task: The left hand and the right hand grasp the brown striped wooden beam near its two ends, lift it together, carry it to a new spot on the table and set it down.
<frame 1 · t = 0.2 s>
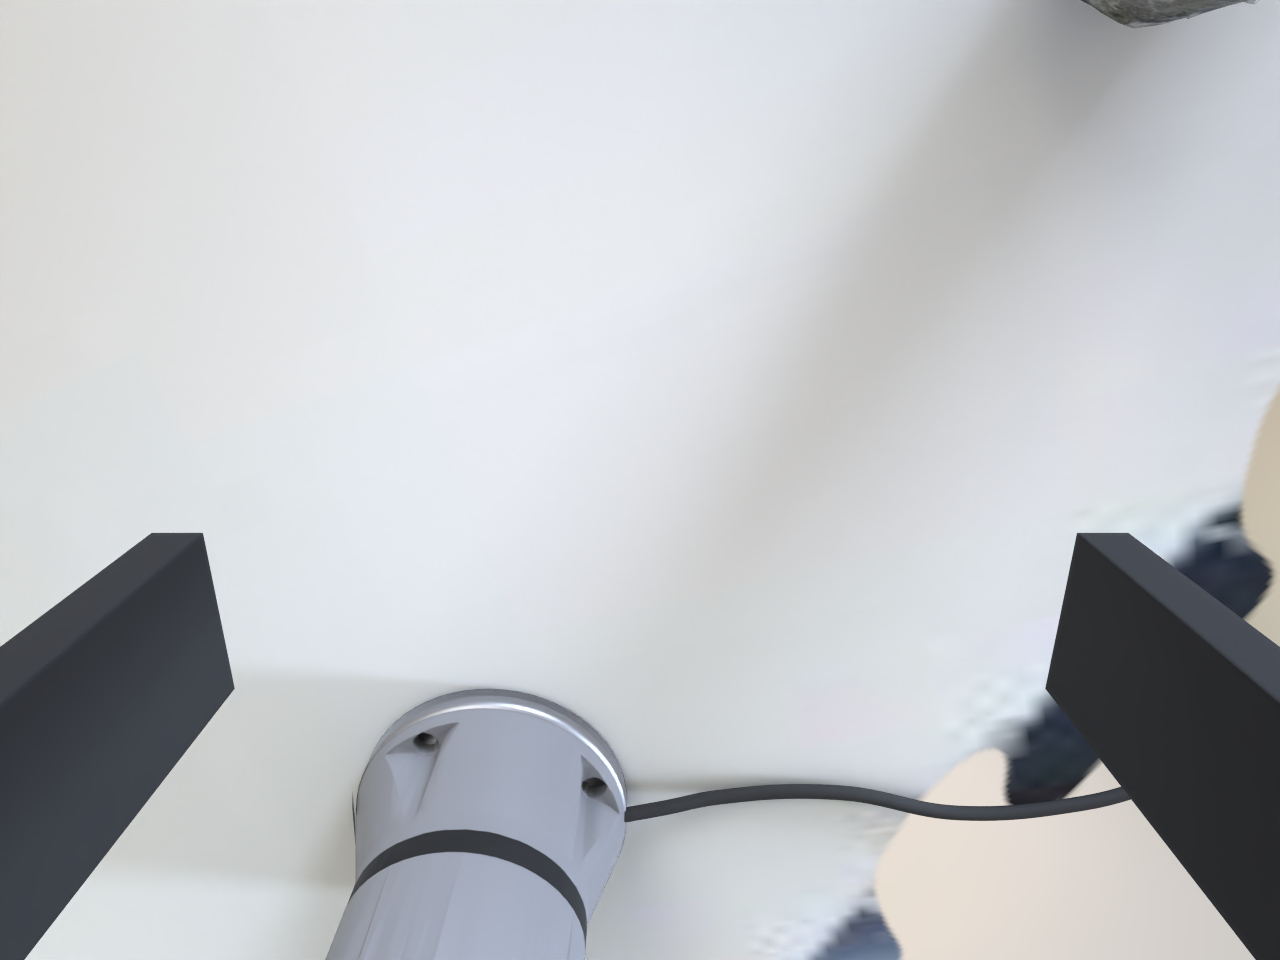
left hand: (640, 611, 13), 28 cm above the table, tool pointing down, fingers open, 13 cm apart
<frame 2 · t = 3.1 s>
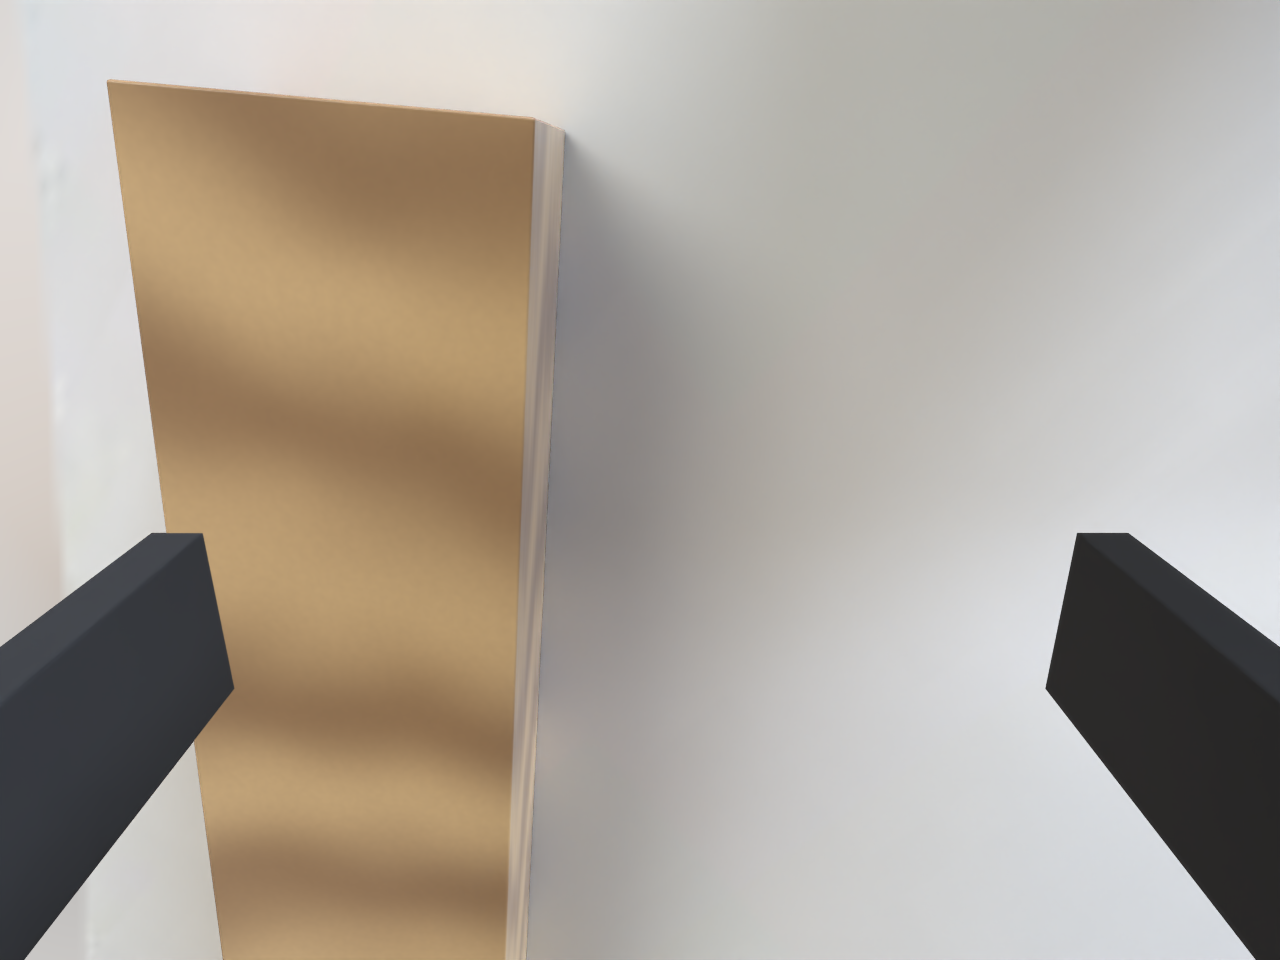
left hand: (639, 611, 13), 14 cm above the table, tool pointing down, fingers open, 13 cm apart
brown striped wooden beam: (422, 910, 33), on the table, touching right hand
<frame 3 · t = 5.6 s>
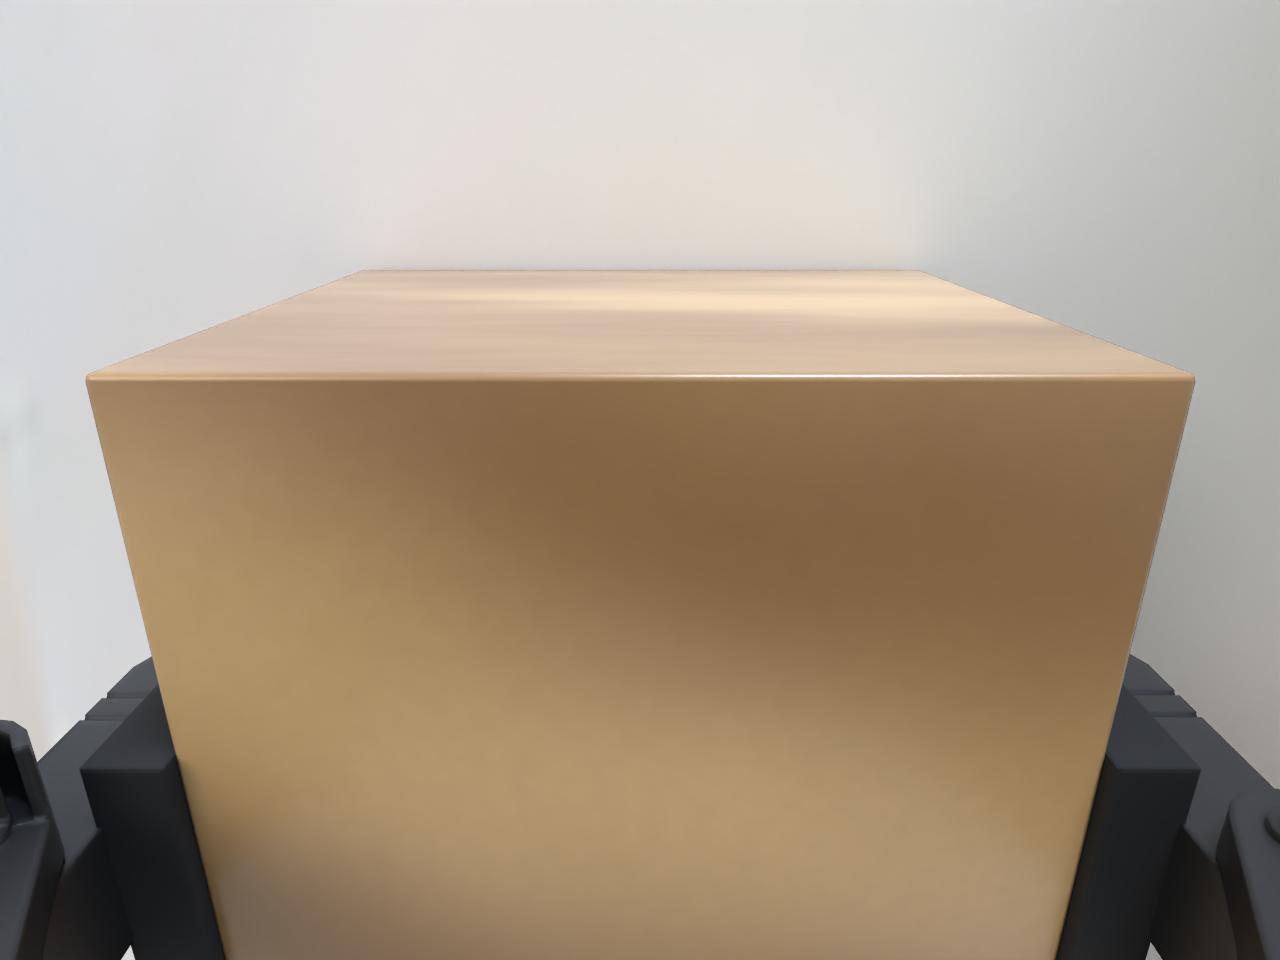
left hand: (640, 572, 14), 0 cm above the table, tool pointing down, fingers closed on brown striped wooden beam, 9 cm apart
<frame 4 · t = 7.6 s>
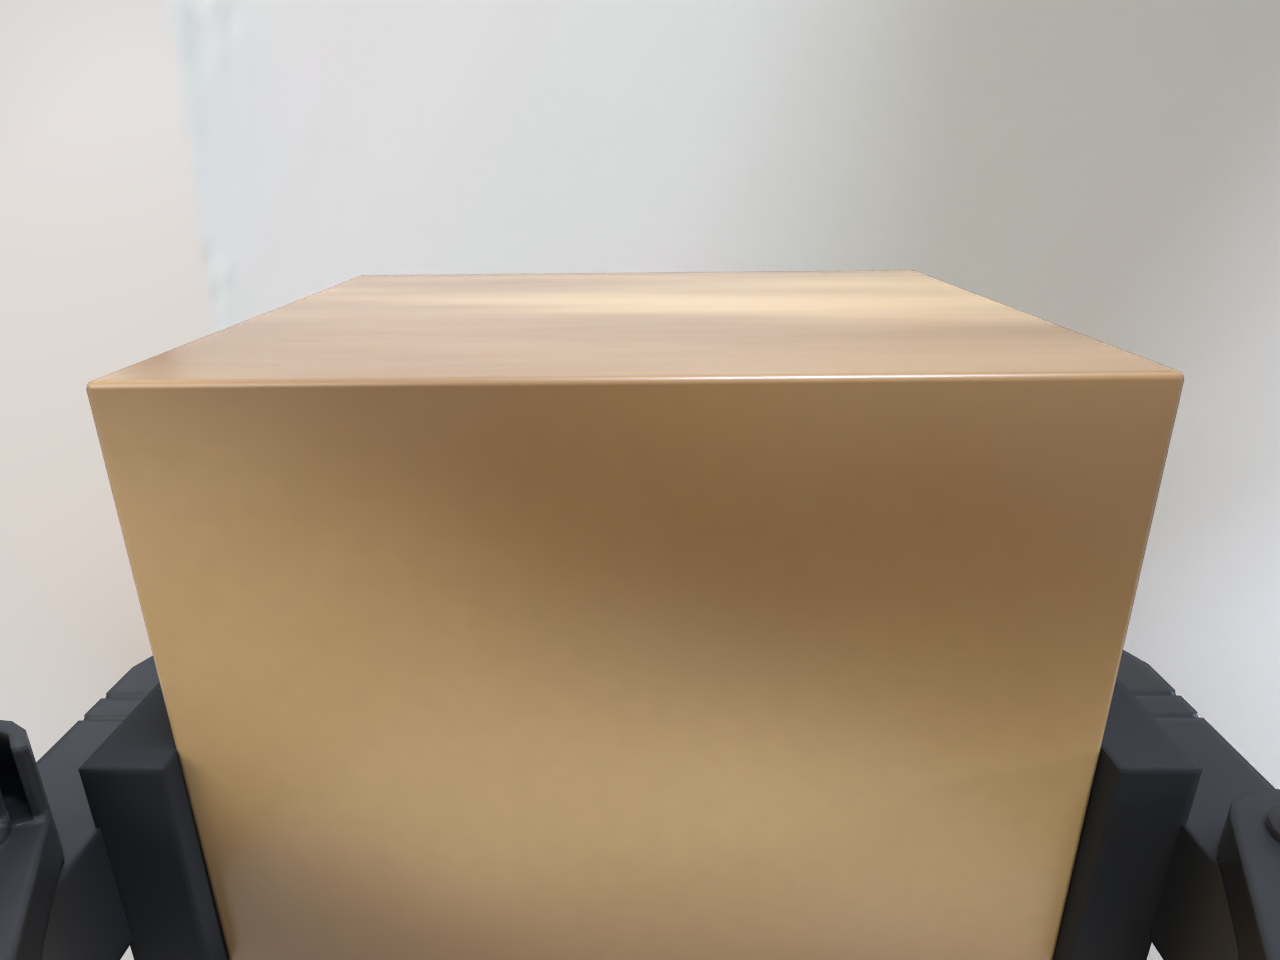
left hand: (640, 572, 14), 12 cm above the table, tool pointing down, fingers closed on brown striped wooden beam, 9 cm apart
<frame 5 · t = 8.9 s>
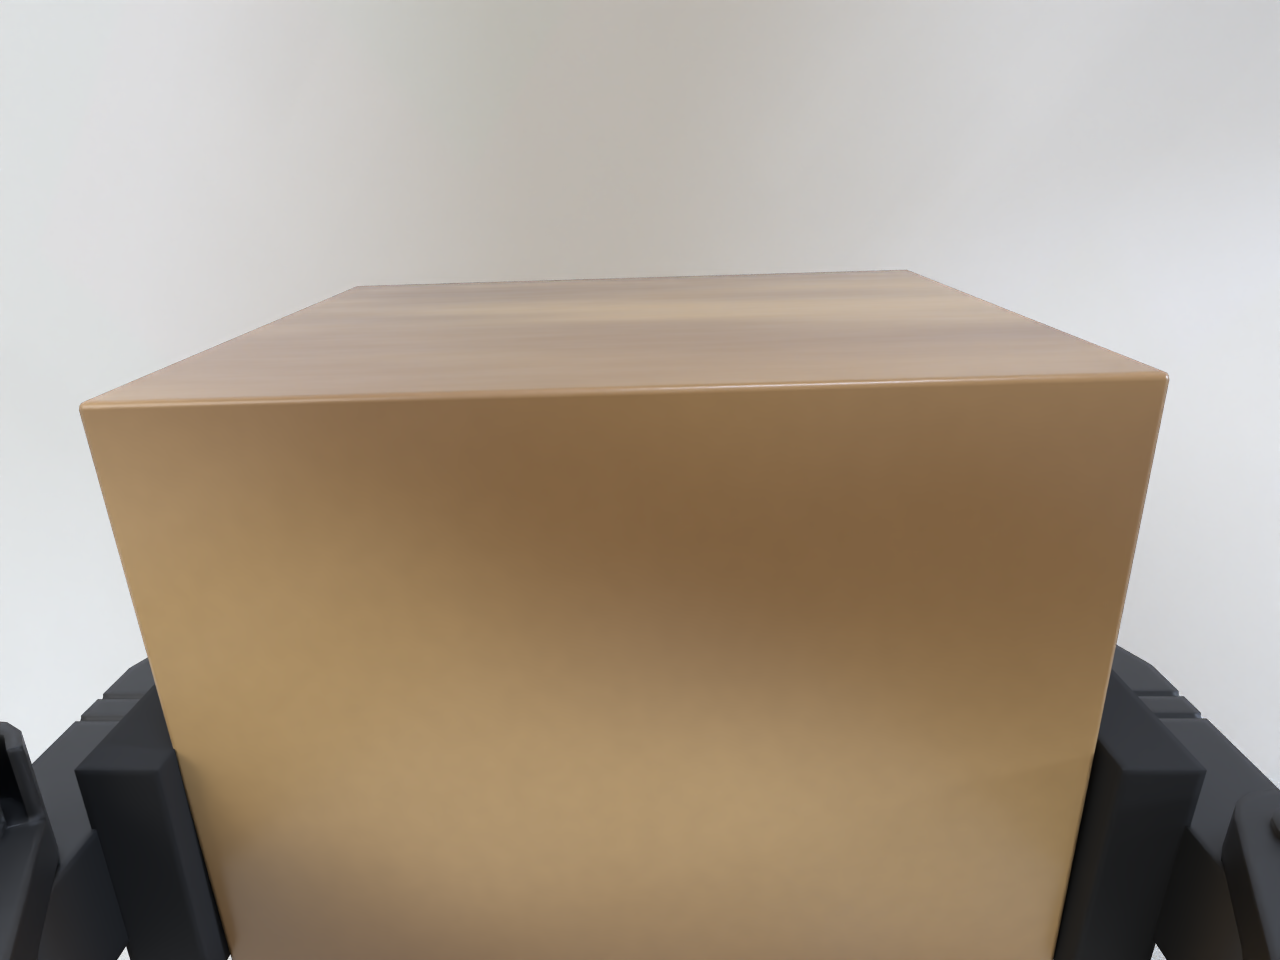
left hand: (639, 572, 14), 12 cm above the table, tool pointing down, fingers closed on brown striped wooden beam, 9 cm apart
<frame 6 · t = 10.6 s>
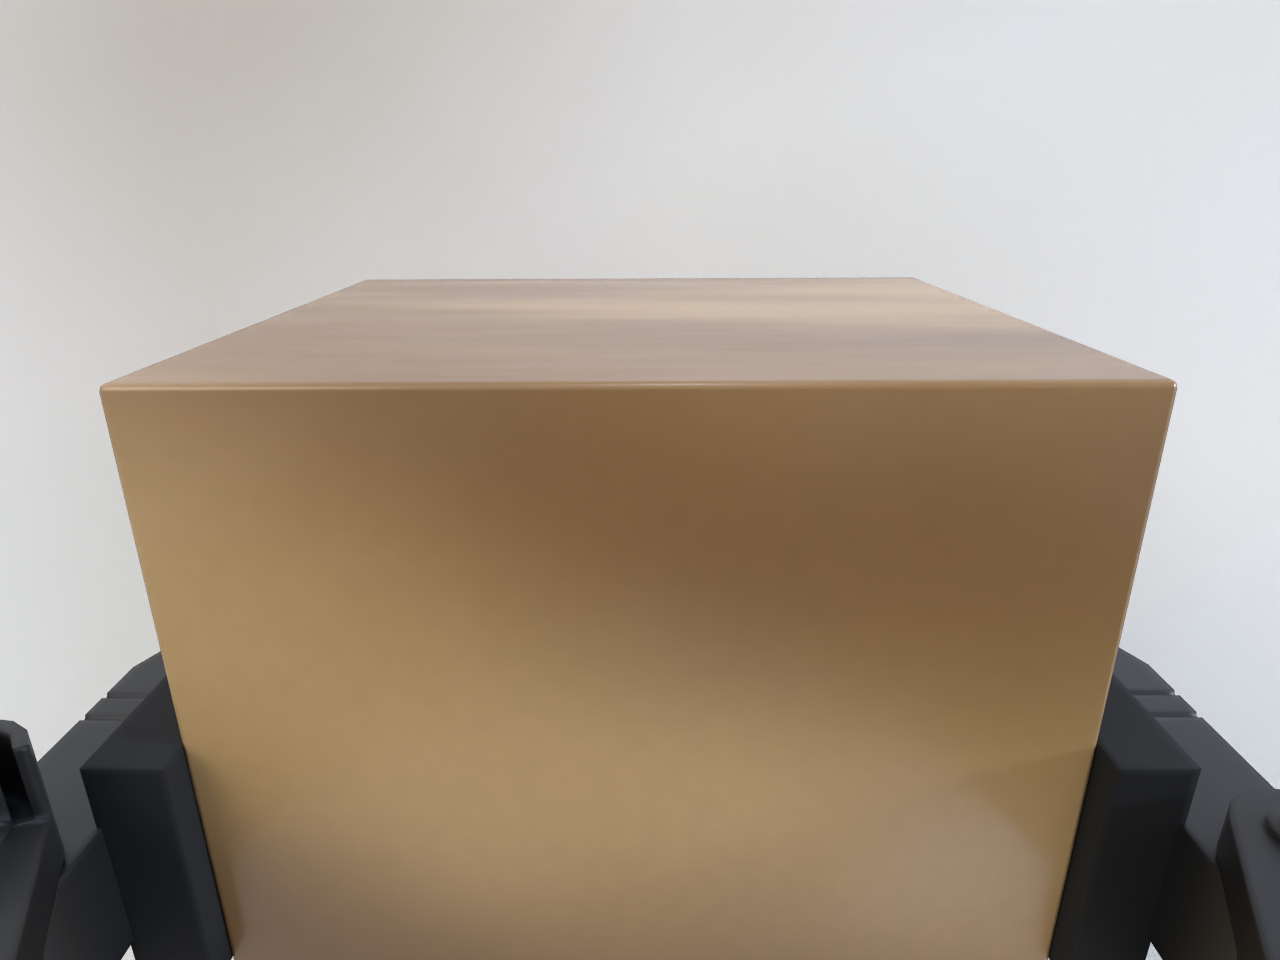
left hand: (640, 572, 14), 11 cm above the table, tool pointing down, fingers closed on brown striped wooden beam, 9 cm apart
when the left hand's fingers open (2 cm above the table, at t = 12.3 s): brown striped wooden beam drops 1 cm, on the table.
when the right hand's fingers open (2 cm above the table, at t = 12.3 s): brown striped wooden beam drops 1 cm, on the table.
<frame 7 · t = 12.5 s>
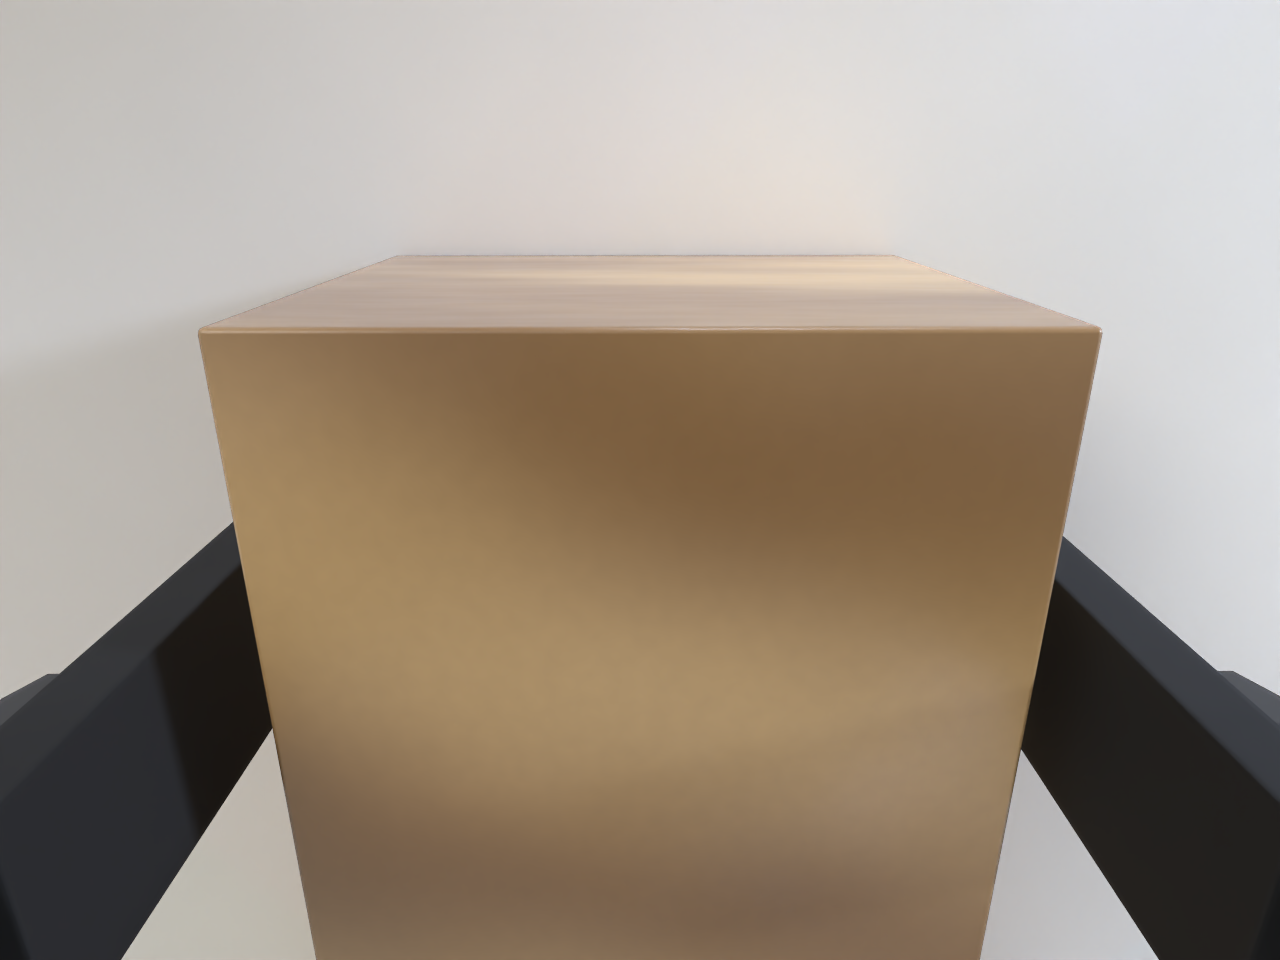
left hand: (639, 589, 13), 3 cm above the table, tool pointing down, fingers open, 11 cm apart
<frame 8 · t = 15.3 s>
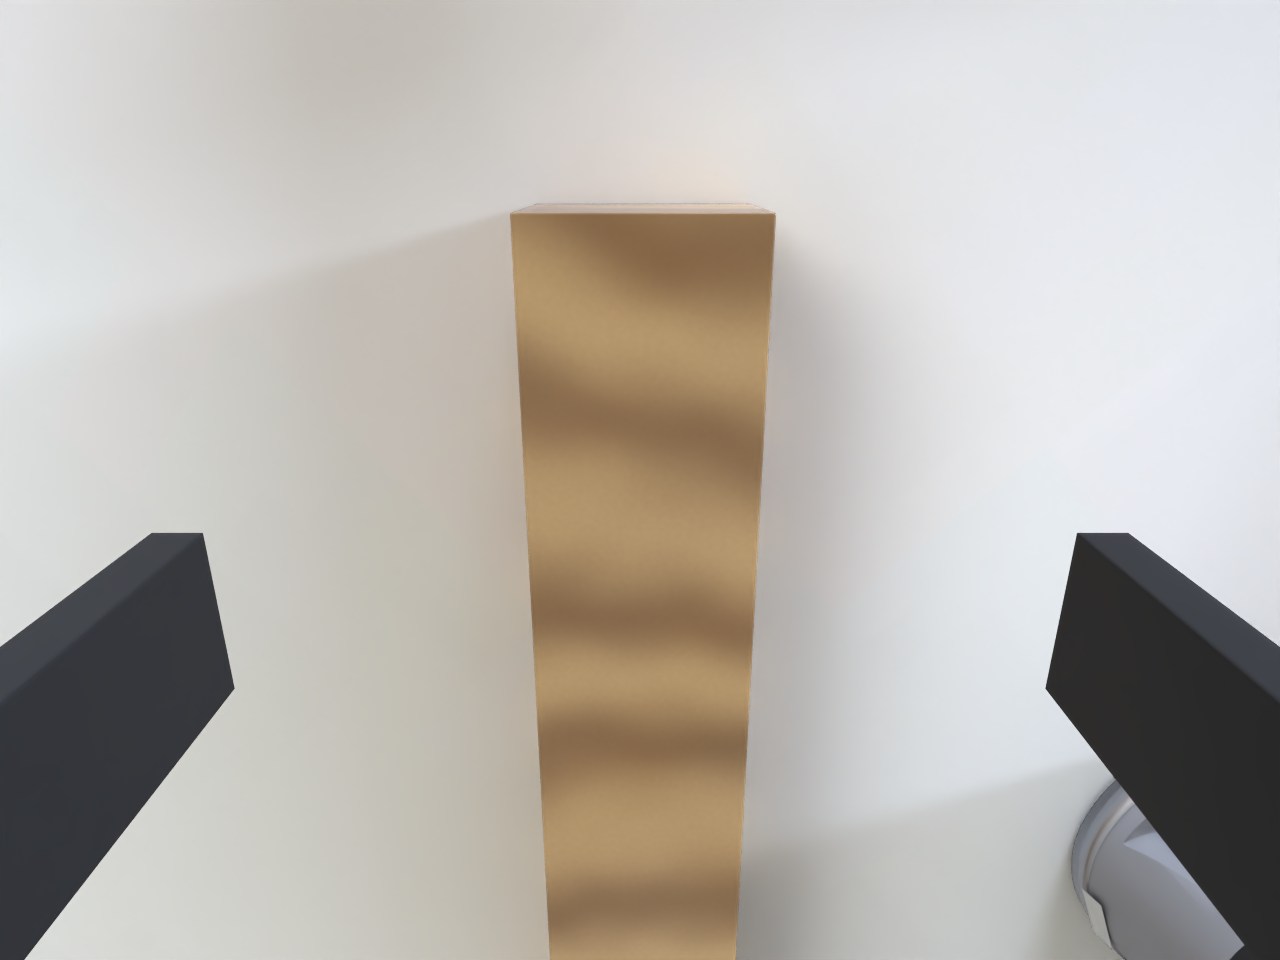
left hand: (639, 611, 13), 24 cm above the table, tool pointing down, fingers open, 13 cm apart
brown striped wooden beam: (642, 796, 43), on the table
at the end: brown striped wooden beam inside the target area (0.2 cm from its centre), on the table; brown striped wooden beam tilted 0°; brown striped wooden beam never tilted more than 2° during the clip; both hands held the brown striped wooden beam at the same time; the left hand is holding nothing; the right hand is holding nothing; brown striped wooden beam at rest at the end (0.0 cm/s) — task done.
